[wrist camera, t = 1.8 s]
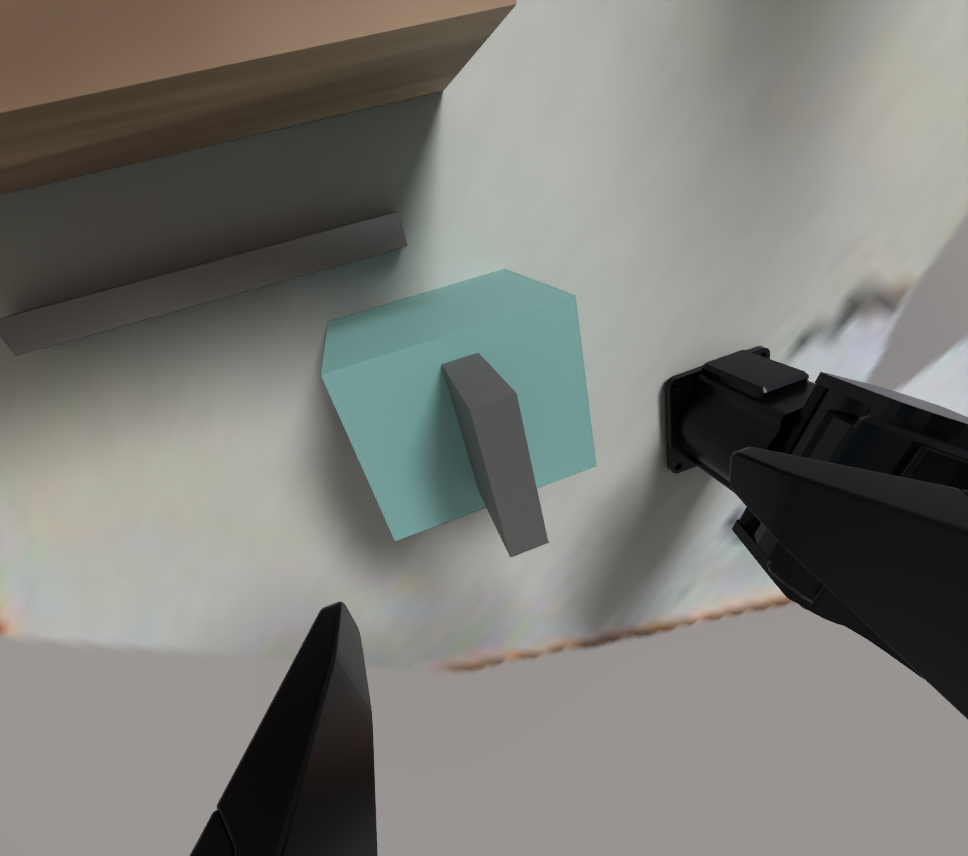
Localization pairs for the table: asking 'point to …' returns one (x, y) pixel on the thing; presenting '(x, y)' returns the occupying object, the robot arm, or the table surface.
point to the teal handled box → (464, 402)
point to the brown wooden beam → (207, 112)
